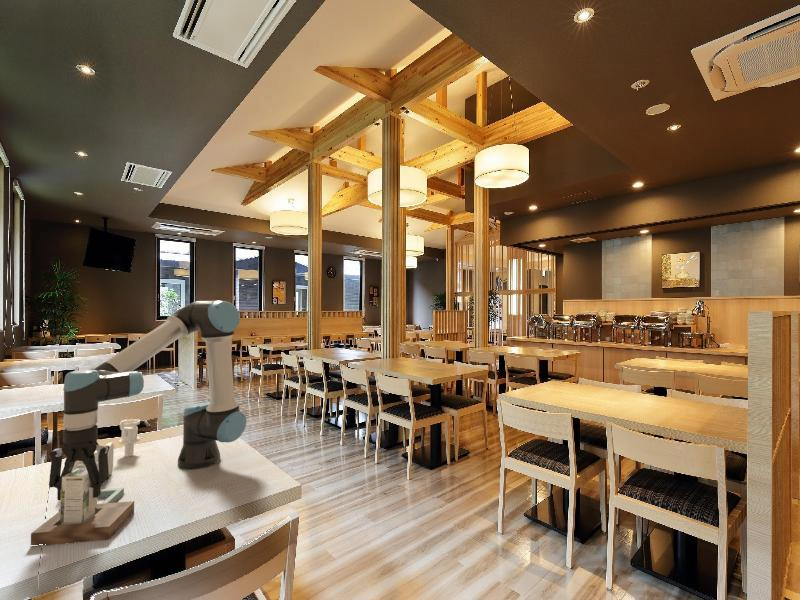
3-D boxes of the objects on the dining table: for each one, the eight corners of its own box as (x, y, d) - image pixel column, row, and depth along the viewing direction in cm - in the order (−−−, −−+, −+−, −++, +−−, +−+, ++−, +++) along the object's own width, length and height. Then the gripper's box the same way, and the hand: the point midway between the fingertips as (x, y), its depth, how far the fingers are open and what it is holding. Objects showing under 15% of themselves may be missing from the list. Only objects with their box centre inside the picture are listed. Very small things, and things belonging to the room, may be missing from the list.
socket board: (134, 512, 119) (134, 501, 119) (109, 539, 105) (109, 526, 105) (65, 518, 115) (65, 506, 115) (30, 546, 101) (31, 533, 102)
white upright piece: (114, 456, 163) (115, 420, 164) (132, 451, 170) (132, 416, 170) (126, 459, 161) (126, 422, 161) (143, 453, 167) (143, 417, 167)
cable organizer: (102, 488, 135) (103, 454, 135) (63, 494, 130) (64, 458, 131) (113, 471, 148) (114, 440, 149) (78, 476, 144) (79, 444, 144)
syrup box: (74, 519, 112) (75, 467, 113) (96, 518, 113) (97, 467, 113) (59, 530, 107) (60, 476, 107) (82, 529, 107) (83, 475, 107)
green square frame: (123, 493, 131) (124, 487, 131) (104, 512, 119) (104, 505, 119) (82, 496, 128) (83, 490, 128) (58, 516, 117) (58, 509, 117)
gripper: (125, 421, 116) (123, 500, 115) (50, 424, 112) (48, 506, 112) (111, 428, 108) (110, 513, 108) (31, 432, 105) (29, 520, 104)
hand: (79, 509), depth 110 cm, fingers closed on syrup box, 6 cm apart
